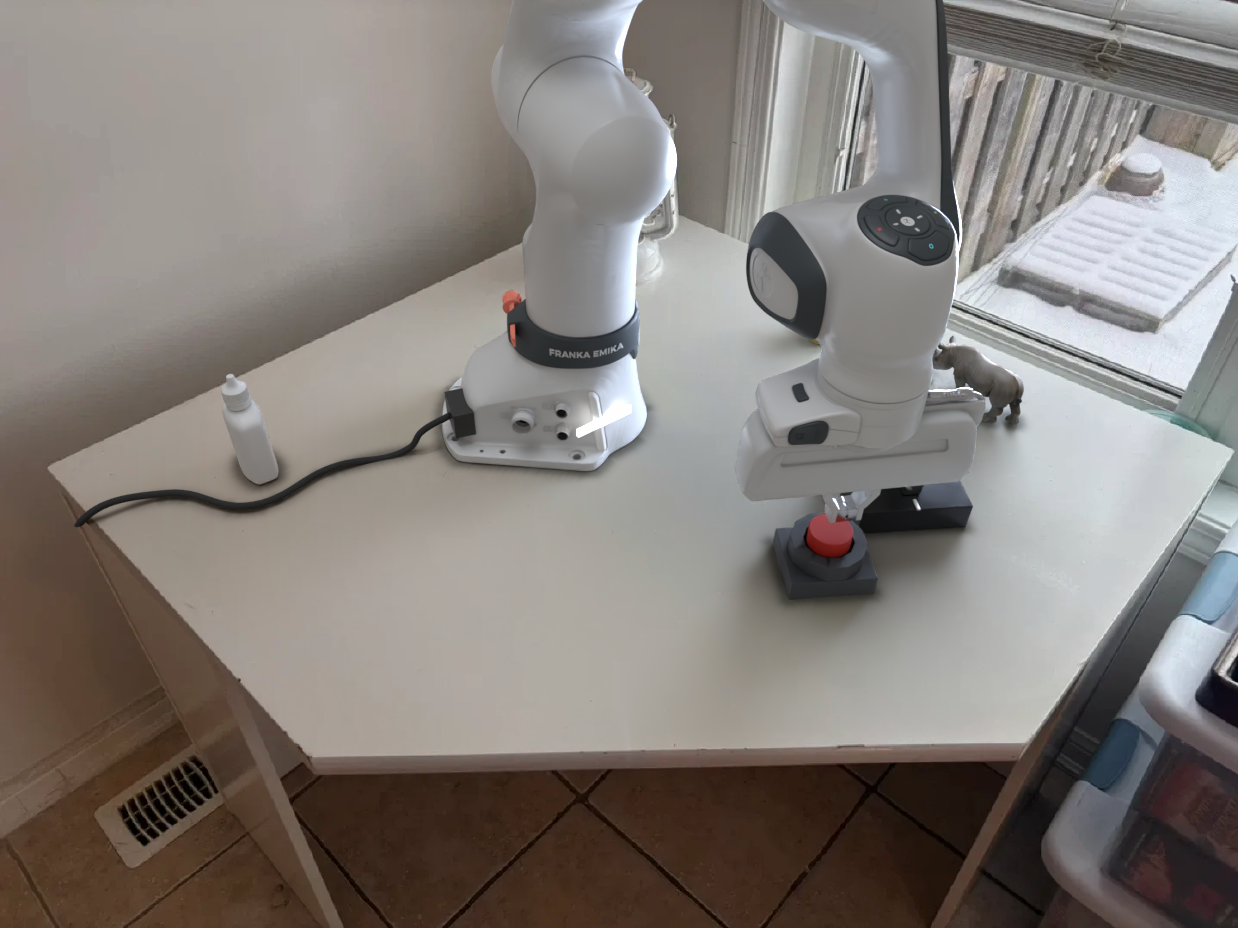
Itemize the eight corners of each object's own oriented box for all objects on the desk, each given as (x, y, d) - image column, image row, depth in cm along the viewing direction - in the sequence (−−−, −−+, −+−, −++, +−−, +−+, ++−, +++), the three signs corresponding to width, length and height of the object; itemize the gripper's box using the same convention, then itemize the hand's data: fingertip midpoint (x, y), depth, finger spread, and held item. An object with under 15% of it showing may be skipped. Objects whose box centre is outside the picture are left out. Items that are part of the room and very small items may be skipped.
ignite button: (812, 559, 88) (814, 546, 87) (801, 528, 91) (804, 514, 90) (855, 557, 88) (858, 544, 87) (843, 525, 91) (846, 512, 90)
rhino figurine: (933, 358, 117) (945, 316, 113) (1025, 421, 108) (1041, 378, 104) (908, 369, 115) (920, 327, 111) (999, 434, 107) (1015, 391, 103)
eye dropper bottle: (285, 449, 103) (258, 357, 95) (277, 485, 99) (248, 392, 91) (242, 451, 103) (212, 359, 95) (233, 488, 99) (200, 395, 91)
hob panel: (857, 535, 95) (863, 512, 93) (833, 471, 102) (838, 448, 100) (966, 528, 96) (974, 505, 94) (934, 465, 103) (942, 443, 101)
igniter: (788, 600, 89) (794, 571, 86) (772, 543, 94) (777, 514, 91) (874, 594, 90) (882, 565, 87) (853, 538, 95) (860, 509, 92)
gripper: (975, 363, 82) (939, 482, 91) (738, 384, 80) (725, 502, 89) (1007, 411, 77) (965, 530, 87) (756, 433, 75) (741, 553, 85)
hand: (842, 516), depth 88 cm, fingers closed
